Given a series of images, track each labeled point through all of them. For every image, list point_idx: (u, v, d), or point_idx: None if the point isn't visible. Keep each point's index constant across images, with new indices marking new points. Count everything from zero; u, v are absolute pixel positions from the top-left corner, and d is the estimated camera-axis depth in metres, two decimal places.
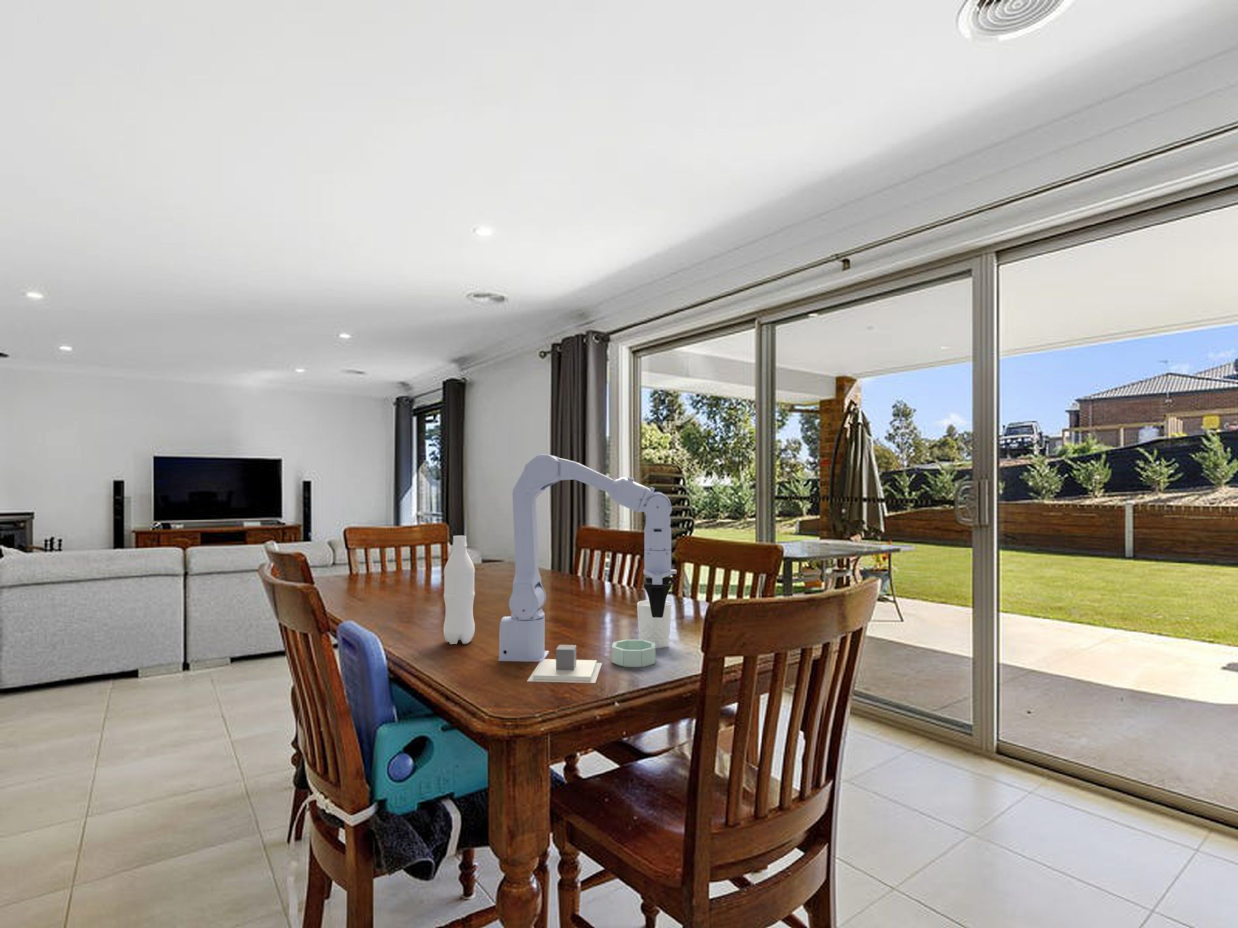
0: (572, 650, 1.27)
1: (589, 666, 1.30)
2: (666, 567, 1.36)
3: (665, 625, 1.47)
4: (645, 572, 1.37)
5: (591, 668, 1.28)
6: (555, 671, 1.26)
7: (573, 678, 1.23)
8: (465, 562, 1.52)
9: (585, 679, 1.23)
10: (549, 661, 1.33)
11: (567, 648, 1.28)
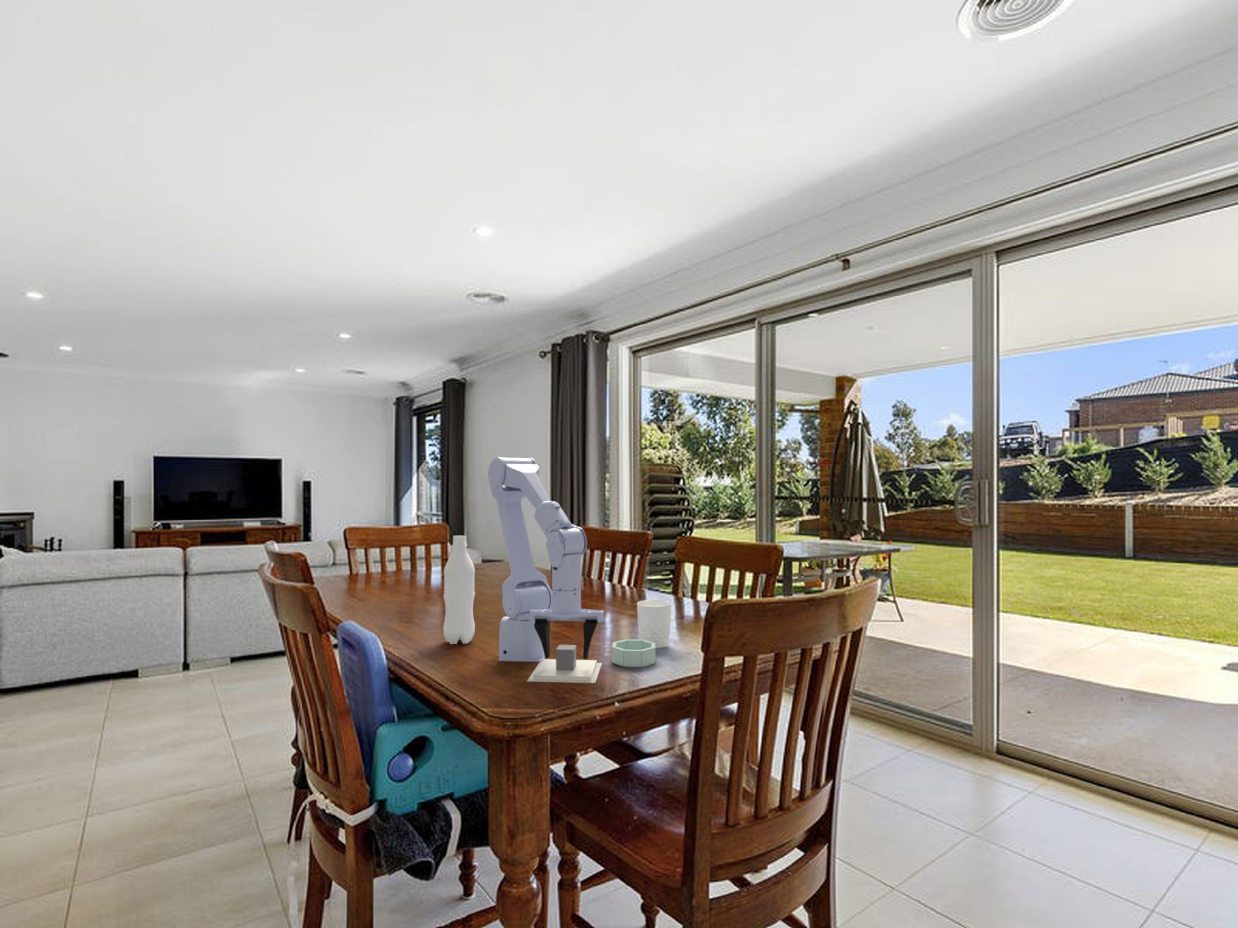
0: (572, 650, 1.27)
1: (589, 666, 1.30)
2: (554, 608, 1.27)
3: (665, 625, 1.47)
4: None
5: (591, 668, 1.28)
6: (555, 671, 1.26)
7: (573, 678, 1.23)
8: (465, 562, 1.52)
9: (585, 679, 1.23)
10: (549, 661, 1.33)
11: (567, 648, 1.28)
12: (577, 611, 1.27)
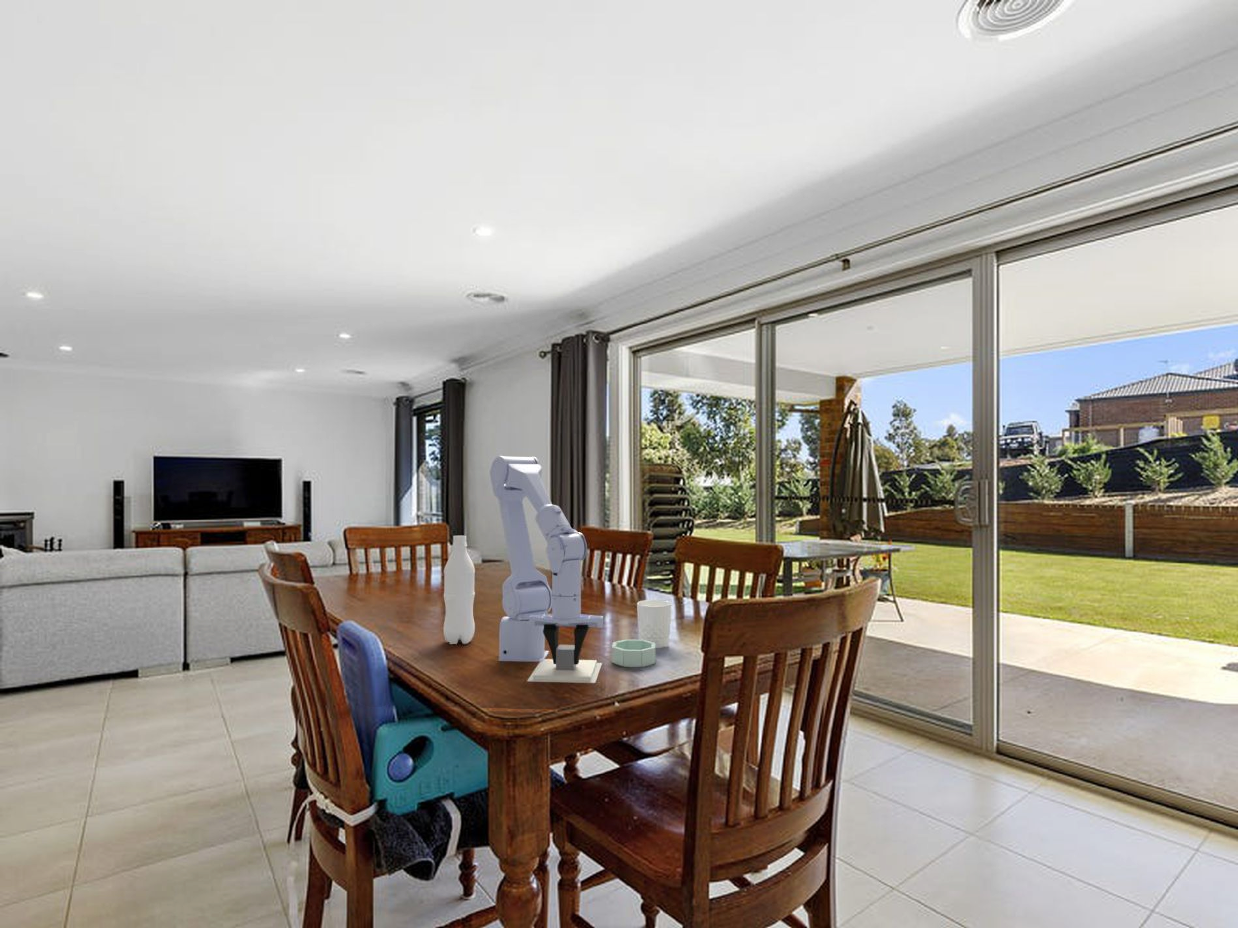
0: (572, 650, 1.27)
1: (589, 666, 1.30)
2: (553, 614, 1.28)
3: (665, 625, 1.47)
4: None
5: (591, 668, 1.28)
6: (555, 671, 1.26)
7: (573, 678, 1.23)
8: (465, 562, 1.52)
9: (585, 679, 1.23)
10: (549, 661, 1.33)
11: (567, 648, 1.28)
12: (577, 617, 1.27)
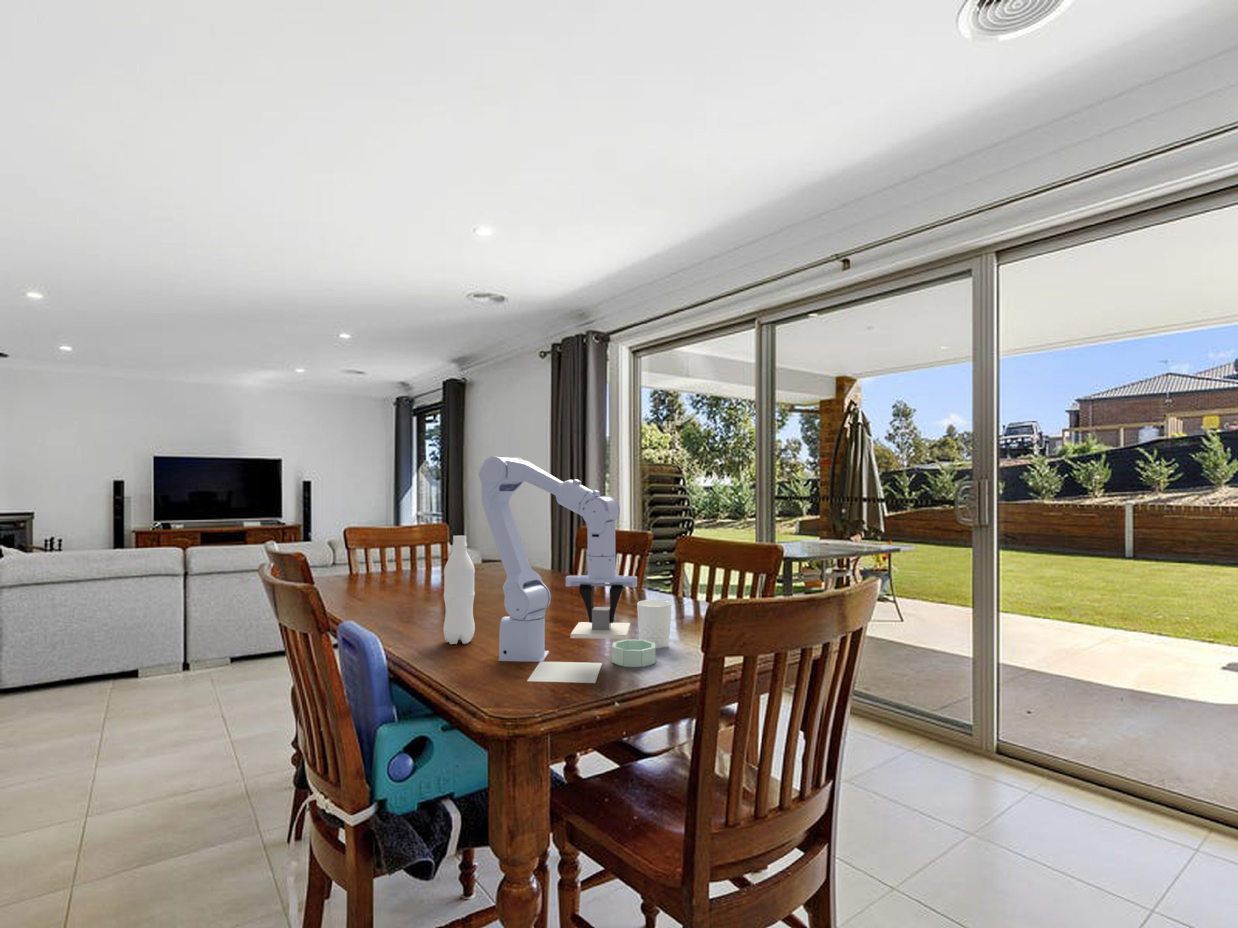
0: (607, 611, 1.31)
1: (624, 627, 1.33)
2: (589, 574, 1.31)
3: (665, 625, 1.47)
4: None
5: (626, 628, 1.32)
6: (591, 631, 1.30)
7: (609, 636, 1.27)
8: (465, 562, 1.52)
9: (621, 637, 1.27)
10: (584, 623, 1.37)
11: (602, 609, 1.32)
12: (612, 576, 1.31)
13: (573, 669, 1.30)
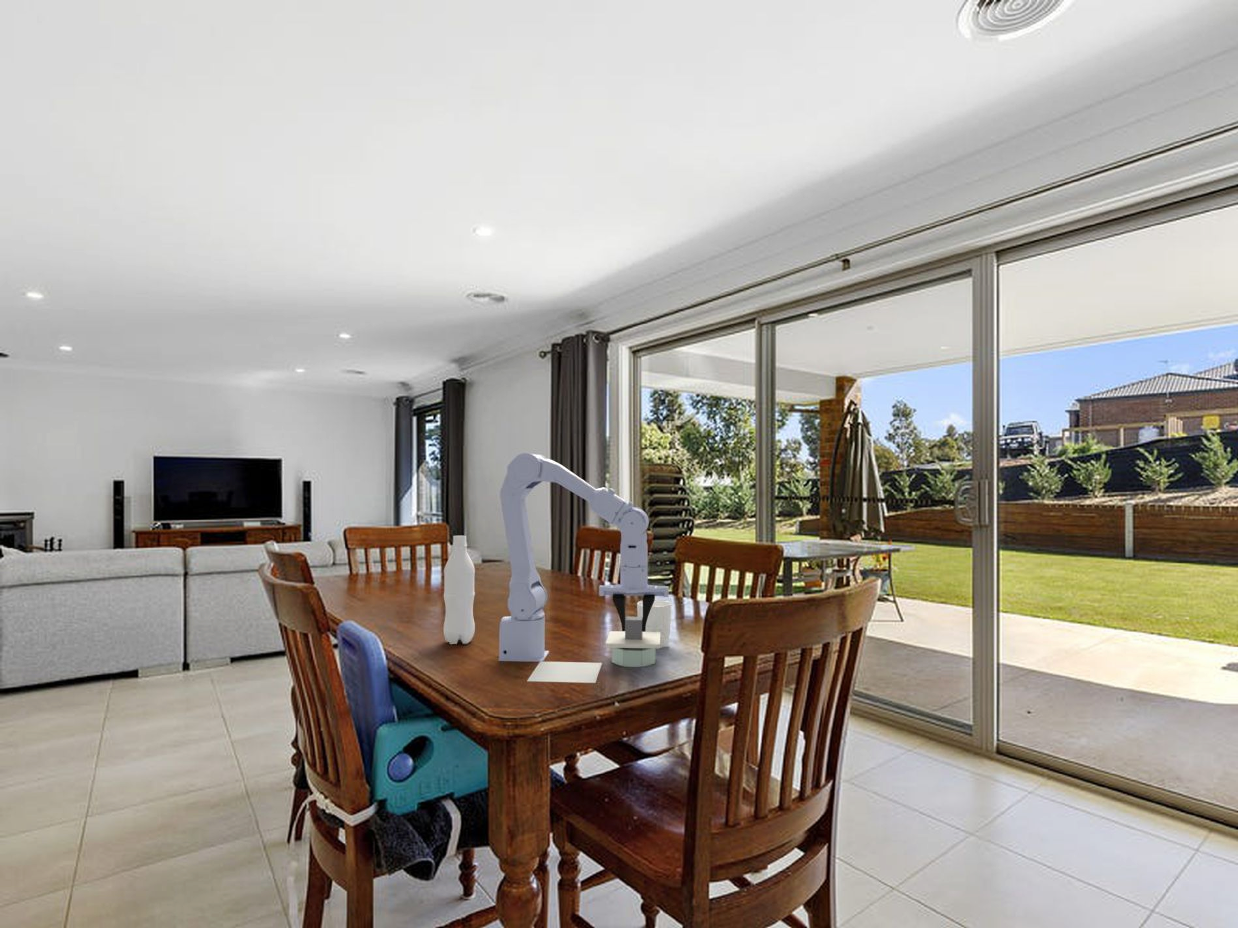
0: (640, 621, 1.35)
1: (655, 636, 1.37)
2: (622, 584, 1.35)
3: (665, 625, 1.47)
4: None
5: (658, 638, 1.36)
6: (625, 640, 1.34)
7: (643, 646, 1.31)
8: (465, 562, 1.52)
9: (655, 647, 1.31)
10: (616, 632, 1.41)
11: (635, 619, 1.36)
12: (645, 586, 1.35)
13: (573, 669, 1.30)
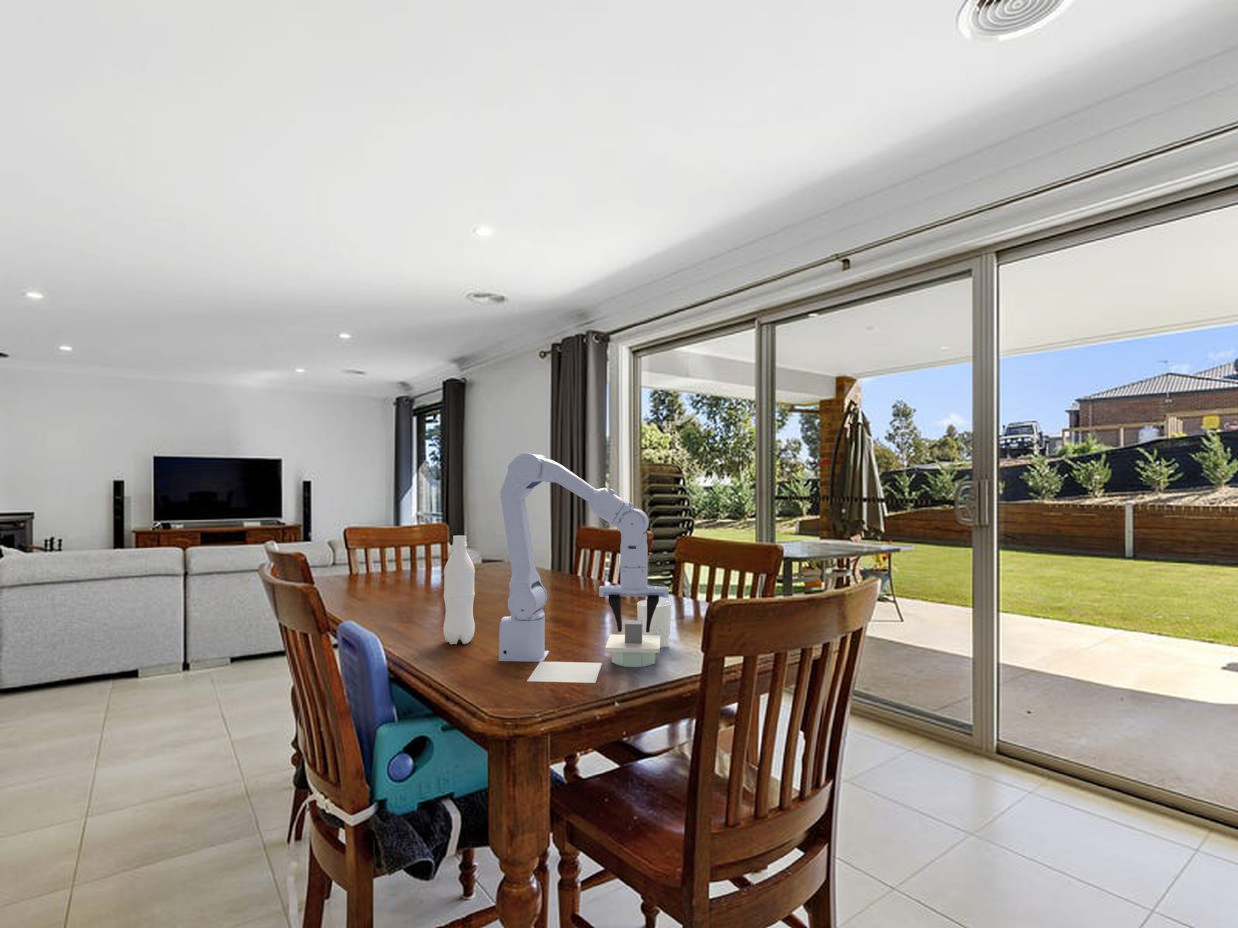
0: (640, 624, 1.35)
1: (655, 640, 1.37)
2: (622, 584, 1.35)
3: (665, 625, 1.47)
4: None
5: (657, 642, 1.36)
6: (624, 644, 1.34)
7: (643, 650, 1.31)
8: (465, 562, 1.52)
9: (654, 651, 1.31)
10: (616, 636, 1.41)
11: (635, 623, 1.36)
12: (645, 587, 1.35)
13: (573, 669, 1.30)
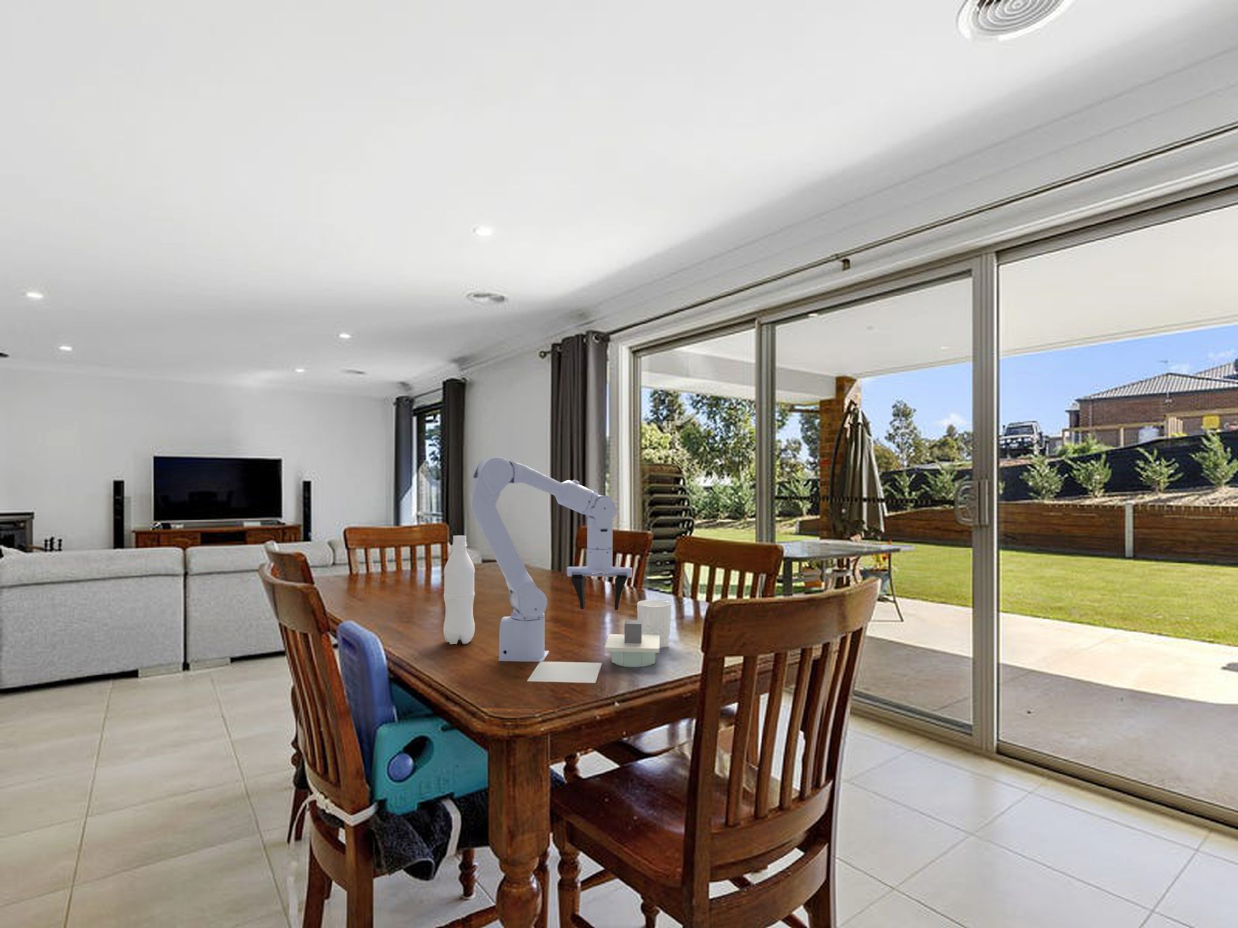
0: (640, 624, 1.35)
1: (654, 640, 1.37)
2: (589, 565, 1.45)
3: (665, 625, 1.47)
4: None
5: (657, 641, 1.36)
6: (624, 644, 1.34)
7: (643, 650, 1.31)
8: (465, 562, 1.52)
9: (654, 651, 1.31)
10: (615, 635, 1.41)
11: (634, 622, 1.36)
12: (609, 567, 1.45)
13: (573, 669, 1.30)
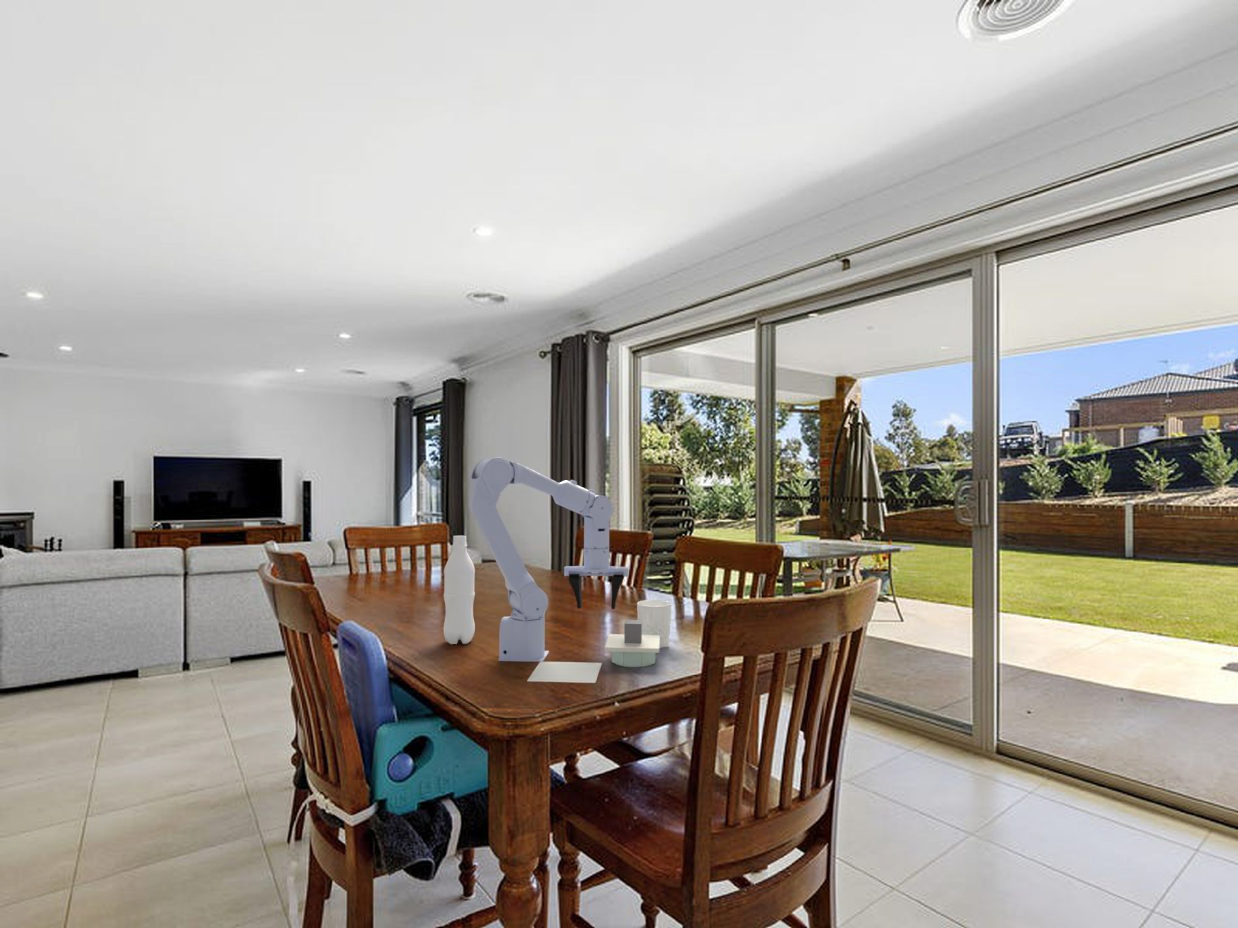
0: (640, 624, 1.35)
1: (654, 640, 1.37)
2: (585, 564, 1.46)
3: (665, 625, 1.47)
4: None
5: (657, 641, 1.36)
6: (624, 644, 1.34)
7: (643, 650, 1.31)
8: (465, 562, 1.52)
9: (654, 651, 1.31)
10: (615, 635, 1.41)
11: (634, 622, 1.36)
12: (606, 567, 1.46)
13: (573, 669, 1.30)
